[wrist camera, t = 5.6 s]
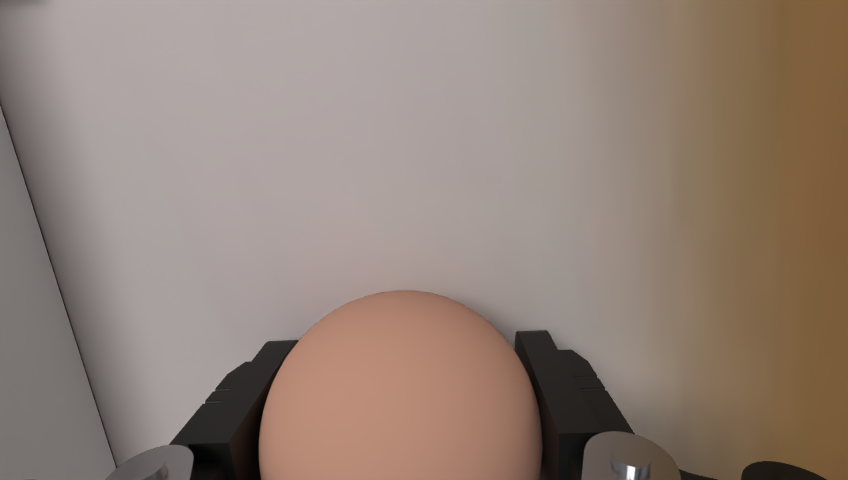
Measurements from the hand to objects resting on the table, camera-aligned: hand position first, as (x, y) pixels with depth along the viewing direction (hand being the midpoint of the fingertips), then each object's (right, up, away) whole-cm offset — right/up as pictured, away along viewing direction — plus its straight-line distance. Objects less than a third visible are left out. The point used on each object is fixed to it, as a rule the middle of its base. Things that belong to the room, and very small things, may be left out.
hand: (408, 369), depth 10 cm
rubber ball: (0, -1, -2) cm, 2 cm away
